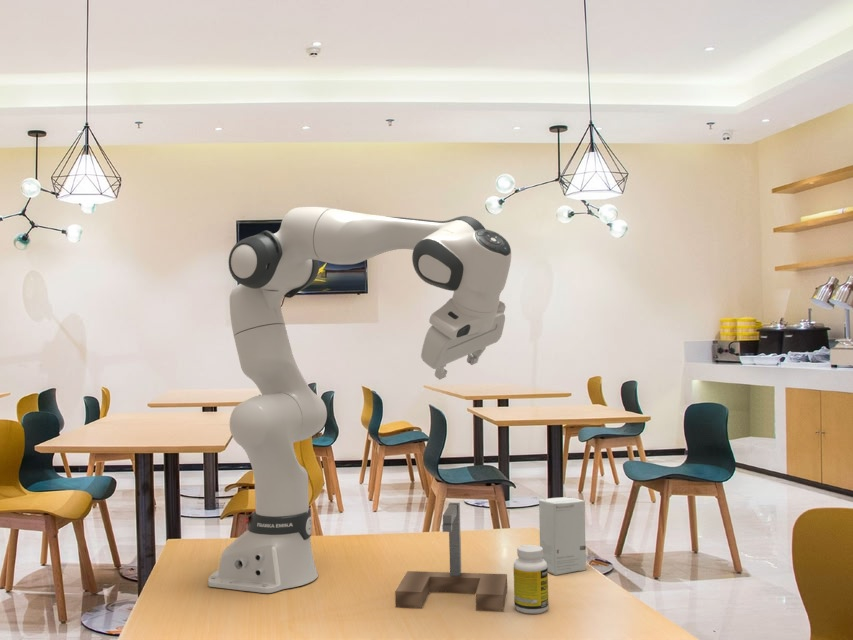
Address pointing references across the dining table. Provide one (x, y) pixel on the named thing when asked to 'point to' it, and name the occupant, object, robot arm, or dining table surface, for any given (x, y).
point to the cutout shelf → (452, 588)
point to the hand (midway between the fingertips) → (456, 369)
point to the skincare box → (563, 534)
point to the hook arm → (453, 537)
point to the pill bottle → (530, 580)
